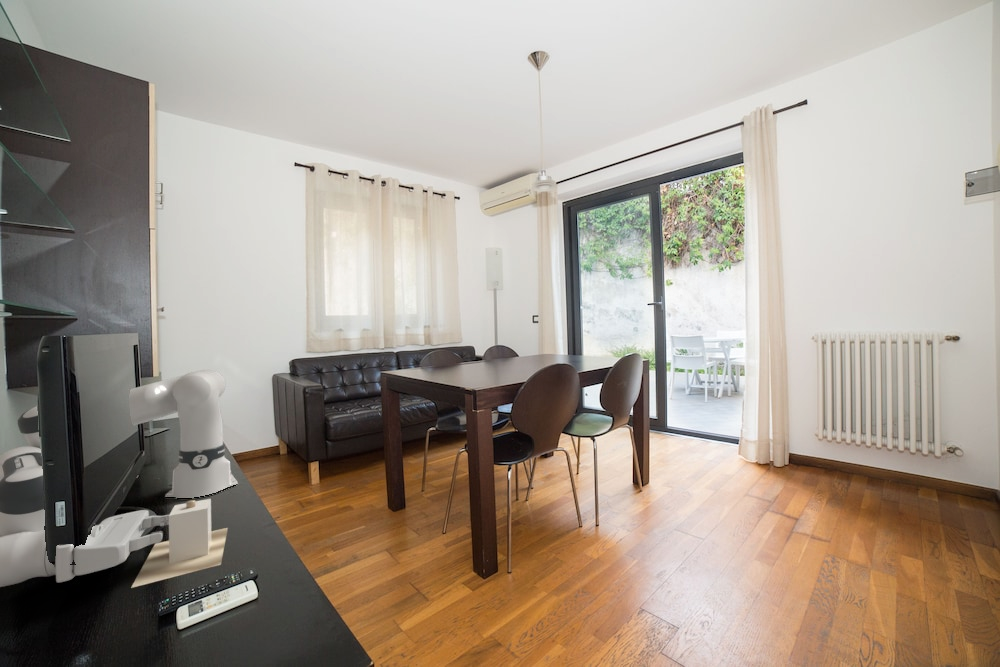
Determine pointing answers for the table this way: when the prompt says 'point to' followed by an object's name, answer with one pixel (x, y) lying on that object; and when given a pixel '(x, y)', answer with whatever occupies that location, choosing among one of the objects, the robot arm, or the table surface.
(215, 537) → the mat
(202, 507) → the tall white canister
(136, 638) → the table surface
